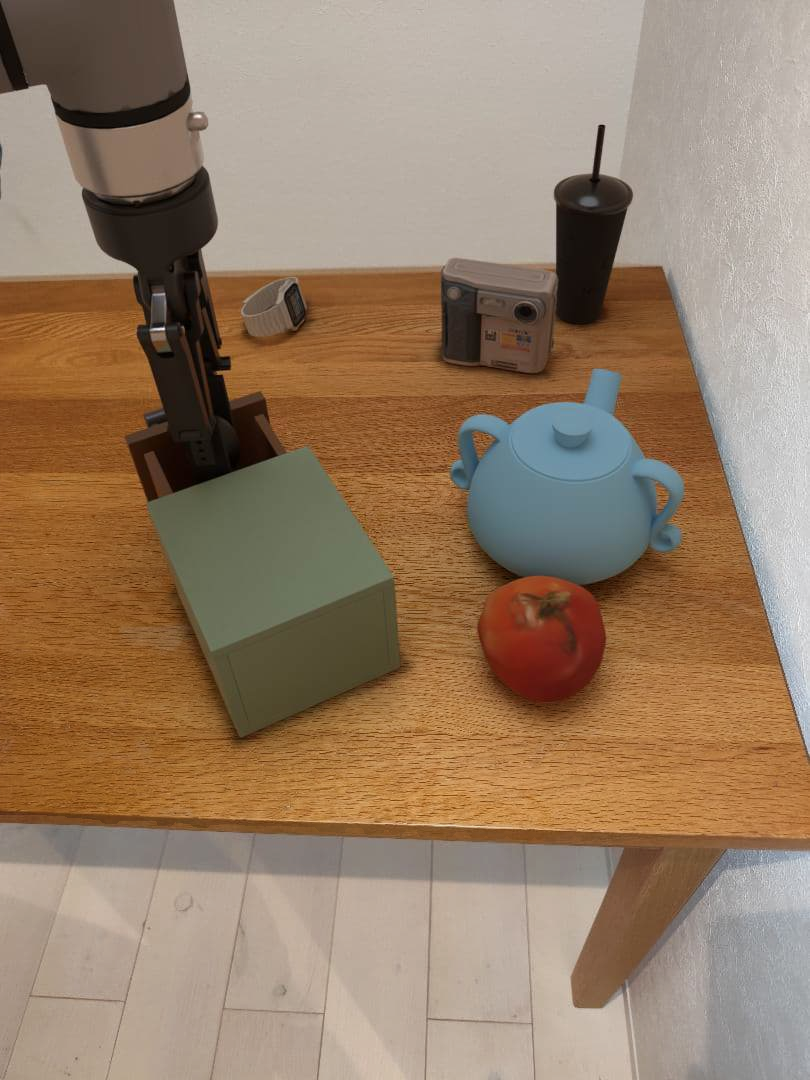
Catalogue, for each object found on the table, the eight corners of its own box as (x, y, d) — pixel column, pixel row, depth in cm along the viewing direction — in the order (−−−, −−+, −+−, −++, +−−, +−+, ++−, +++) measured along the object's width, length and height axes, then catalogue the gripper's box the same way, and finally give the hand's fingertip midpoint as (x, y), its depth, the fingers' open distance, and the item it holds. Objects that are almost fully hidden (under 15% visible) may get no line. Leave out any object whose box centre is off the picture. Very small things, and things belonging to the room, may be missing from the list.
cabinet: (178, 595, 73) (145, 502, 64) (322, 539, 76) (308, 444, 68) (240, 738, 64) (210, 652, 56) (400, 667, 67) (394, 576, 59)
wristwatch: (285, 350, 94) (278, 309, 90) (231, 340, 96) (222, 300, 92) (317, 302, 100) (313, 262, 96) (266, 294, 101) (259, 254, 98)
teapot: (413, 561, 74) (408, 447, 65) (501, 416, 86) (508, 303, 77) (647, 640, 68) (680, 528, 59) (707, 473, 80) (742, 358, 70)
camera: (434, 363, 92) (433, 277, 84) (451, 331, 95) (451, 246, 88) (542, 383, 89) (551, 296, 82) (555, 350, 93) (565, 264, 85)
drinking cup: (529, 318, 97) (545, 132, 82) (563, 284, 101) (583, 102, 86) (593, 340, 94) (621, 151, 79) (625, 305, 98) (657, 119, 83)
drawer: (135, 477, 81) (108, 400, 74) (256, 435, 84) (240, 358, 77) (200, 623, 69) (174, 548, 63) (336, 569, 73) (325, 492, 66)
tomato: (482, 609, 71) (485, 542, 65) (600, 622, 69) (614, 555, 63) (469, 711, 64) (471, 647, 58) (598, 726, 63) (614, 663, 57)
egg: (184, 480, 69) (169, 431, 66) (204, 445, 72) (191, 396, 68) (233, 488, 68) (221, 439, 65) (251, 452, 71) (241, 403, 67)
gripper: (194, 246, 47) (262, 542, 64) (217, 109, 58) (270, 391, 76) (50, 256, 47) (157, 549, 64) (102, 116, 58) (181, 397, 76)
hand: (218, 463), depth 70 cm, fingers closed on egg, 4 cm apart
